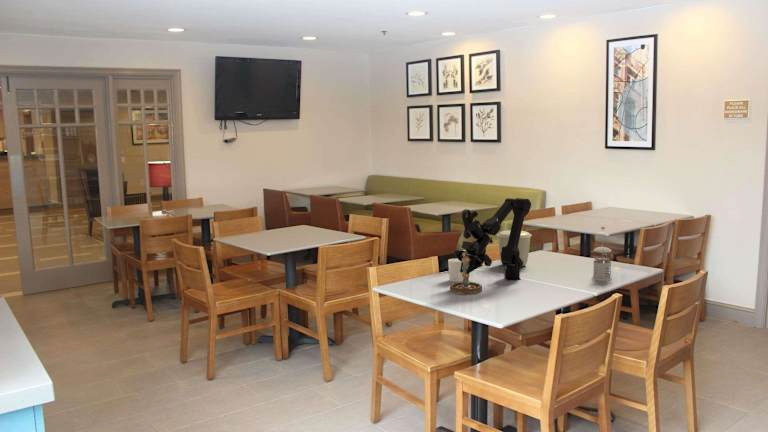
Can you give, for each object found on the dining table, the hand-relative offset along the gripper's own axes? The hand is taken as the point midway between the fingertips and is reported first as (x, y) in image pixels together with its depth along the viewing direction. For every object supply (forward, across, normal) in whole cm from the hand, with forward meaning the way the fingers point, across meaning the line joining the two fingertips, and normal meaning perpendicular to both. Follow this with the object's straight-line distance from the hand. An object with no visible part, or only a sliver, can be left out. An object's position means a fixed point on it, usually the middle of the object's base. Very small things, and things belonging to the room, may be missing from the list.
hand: (463, 272), depth 298 cm
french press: (-39, +30, +52) cm, 71 cm away
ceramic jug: (-26, -37, +38) cm, 59 cm away
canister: (-36, -19, +48) cm, 63 cm away
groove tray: (+5, 0, +7) cm, 8 cm away
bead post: (+4, 0, +6) cm, 7 cm away
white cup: (-3, -17, +15) cm, 23 cm away
